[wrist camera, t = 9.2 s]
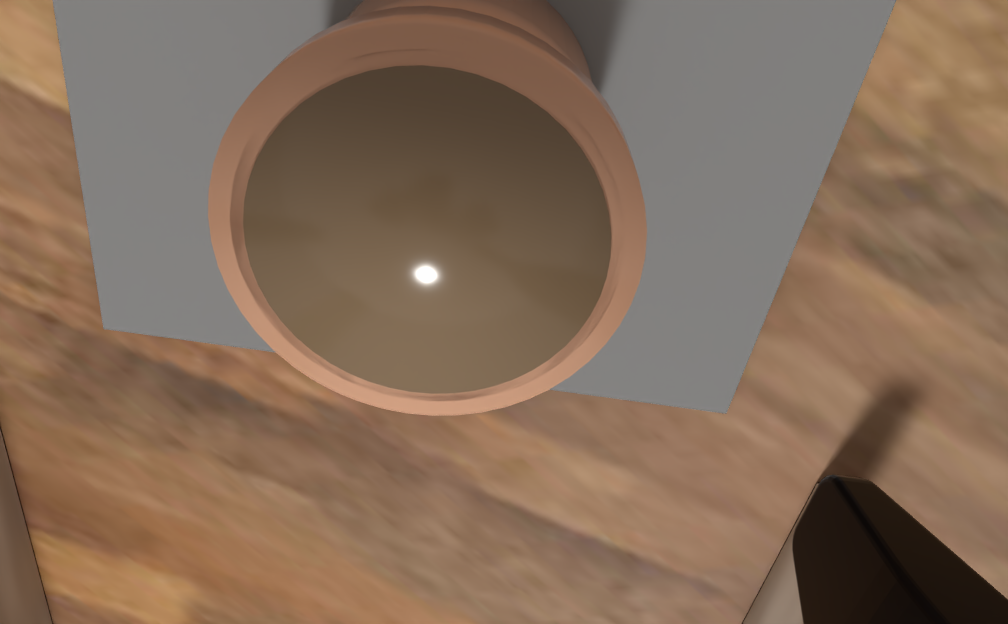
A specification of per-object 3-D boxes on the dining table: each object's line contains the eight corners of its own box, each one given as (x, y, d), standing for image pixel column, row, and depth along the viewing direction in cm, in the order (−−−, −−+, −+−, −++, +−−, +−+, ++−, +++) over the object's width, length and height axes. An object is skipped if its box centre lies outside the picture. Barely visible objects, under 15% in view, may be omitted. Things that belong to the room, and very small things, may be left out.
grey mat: (983, -226, 13) (989, -226, 13) (724, 409, 21) (726, 413, 20) (-6, -421, 12) (-14, -424, 12) (106, 324, 20) (103, 328, 19)
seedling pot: (641, -22, 15) (704, 70, 10) (574, 261, 18) (593, 440, 13) (311, -81, 14) (194, -17, 9) (304, 221, 18) (216, 389, 13)
